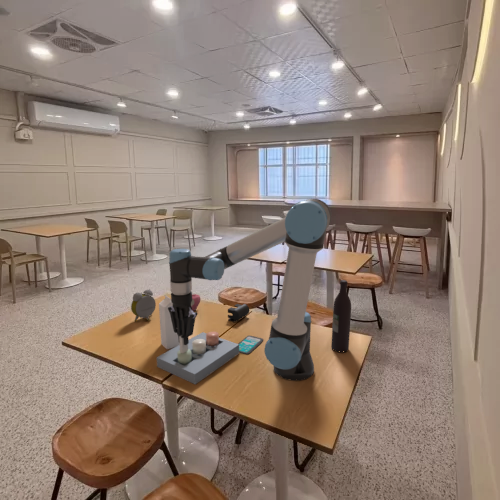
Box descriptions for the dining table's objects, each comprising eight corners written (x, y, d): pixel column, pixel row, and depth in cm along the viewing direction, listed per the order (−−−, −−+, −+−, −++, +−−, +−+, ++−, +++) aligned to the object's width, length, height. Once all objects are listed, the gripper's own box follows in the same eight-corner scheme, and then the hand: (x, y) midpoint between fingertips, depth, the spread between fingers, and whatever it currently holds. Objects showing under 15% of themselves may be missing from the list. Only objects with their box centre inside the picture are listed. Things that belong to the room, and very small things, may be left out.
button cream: (208, 350, 134) (208, 341, 133) (199, 356, 130) (199, 346, 129) (199, 346, 137) (198, 337, 136) (189, 352, 133) (189, 342, 132)
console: (239, 353, 139) (239, 344, 138) (195, 384, 118) (194, 374, 117) (203, 340, 150) (202, 332, 149) (157, 366, 129) (156, 357, 129)
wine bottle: (335, 343, 147) (338, 277, 141) (350, 347, 143) (355, 280, 137) (328, 349, 142) (332, 281, 135) (345, 354, 138) (349, 284, 131)
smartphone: (264, 338, 150) (248, 353, 138) (264, 340, 151) (248, 355, 138) (248, 334, 154) (230, 348, 142) (248, 336, 155) (230, 350, 142)
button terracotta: (221, 342, 141) (221, 333, 140) (213, 347, 136) (213, 338, 136) (212, 339, 143) (211, 330, 143) (203, 344, 139) (203, 335, 138)
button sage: (194, 360, 128) (194, 351, 127) (184, 367, 124) (184, 357, 123) (184, 356, 131) (184, 347, 130) (174, 362, 127) (174, 353, 126)
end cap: (238, 324, 167) (238, 311, 166) (227, 320, 171) (227, 308, 170) (249, 317, 176) (249, 304, 174) (238, 314, 179) (238, 302, 178)
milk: (166, 349, 142) (163, 300, 138) (161, 344, 147) (157, 296, 142) (180, 345, 146) (177, 297, 141) (174, 340, 151) (171, 293, 146)
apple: (181, 312, 182) (180, 294, 179) (186, 306, 190) (185, 289, 188) (198, 313, 180) (197, 295, 178) (202, 307, 188) (202, 290, 186)
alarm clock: (151, 314, 179) (149, 287, 176) (159, 317, 175) (157, 290, 172) (131, 321, 170) (129, 293, 167) (139, 325, 166) (137, 296, 163)
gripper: (202, 292, 121) (203, 352, 126) (176, 285, 128) (179, 342, 133) (187, 298, 115) (189, 361, 120) (161, 291, 122) (164, 350, 127)
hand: (183, 351), depth 126 cm, fingers closed
